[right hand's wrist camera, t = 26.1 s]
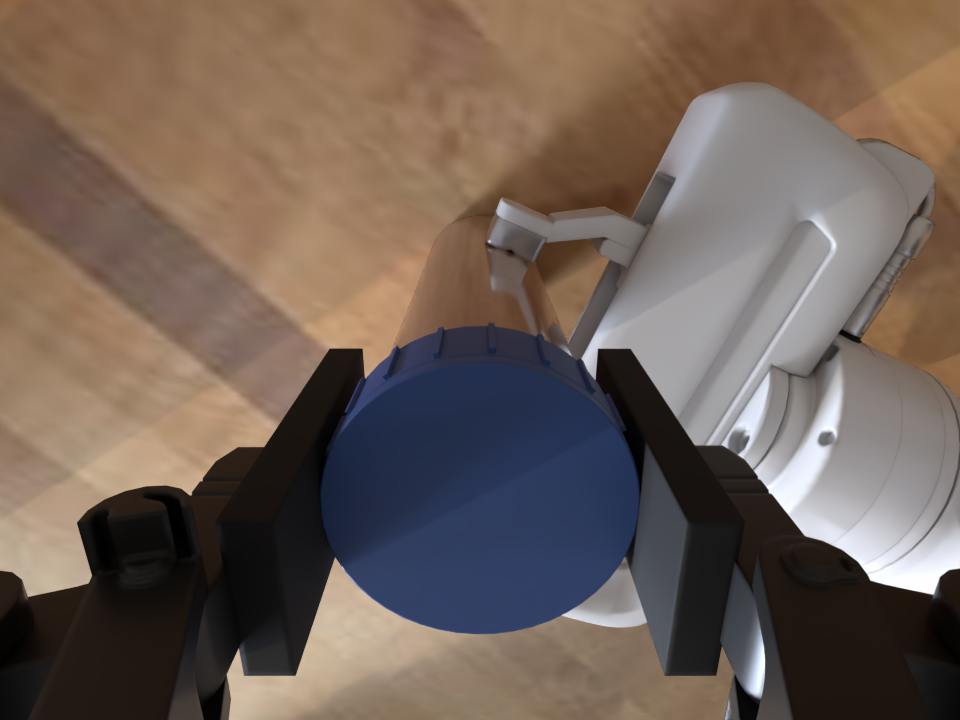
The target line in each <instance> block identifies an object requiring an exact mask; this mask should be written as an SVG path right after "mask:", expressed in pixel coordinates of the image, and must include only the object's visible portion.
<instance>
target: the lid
mask: <svg viewBox="0 0 960 720" xmlns="http://www.w3.org/2000/svg"><path fill="white" fill-rule="evenodd" d="M345 412H346V413H347V414H346V416H342V417H341V419H340V421H339V424H338V426H337V428H336V430H335V432H334V434H333V436H332V438H331V440H330V443H329V445H328V447H327V449H326V452H325V455H326V456H327V459H326V462H325V465H324V469H323V472H322V479H321V485H320V501H321V511H322V519H323V527H324V530H325V533H326V536H327V540H328V542H329V544H330V547H331V549H332V551H333V553H334V555H335V557H336V559H337V560H338V562H339V563H340V565H341V566H342V568H343V569H344V571H345V572H346V573H347V574H348V576H349V577H350V578H351V579H352V580H353V581H354V582H355V584H356V585H357V586H358V587H359V588H360V589H362V590H363V591H364V592H365V593H366V594H367V595H368V596H369V597H371V598H372V599H373V600H375V601H376V602H378V603H379V604H380V605H382V606H383V607H385V608H386V609H388V610H390V611H392V612H394V613H396V614H397V615H399V616H401V617H403V618H406V619H408V620H411V621H413V622H416V623H418V624H421V625H424V626H428V627H431V628H435V629H438V630H444V631H450V632H455V633H467V634H496V633H504V632H512V631H517V630H521V629H525V628H530V627H533V626H536V625H539V624H542V623H545V622H548V621H550V620H553V619H555V618H557V617H559V616H561V615H563V614H565V613H567V612H569V611H570V610H572V609H574V608H575V607H577V606H579V605H580V604H582V603H583V602H584V601H586V600H587V599H588V598H590V597H591V596H592V595H593V594H595V593H596V592H597V591H598V590H599V589H600V588H601V587H602V586H603V585H604V584H605V583H606V582H607V581H608V580H609V579H610V578H611V576H612V575H613V574H614V572H615V571H616V570H617V568H618V567H619V566H620V564H621V563H622V561H623V559H624V557H625V555H626V554H627V552H628V550H629V548H630V545H631V543H632V540H633V538H634V535H635V532H636V528H637V523H638V515H639V505H640V481H639V476H638V472H637V467H636V463H635V460H634V458H633V455H632V453H631V451H630V448H629V446H628V443H627V441H626V439H625V437H624V435H623V432H624V431H626V428H625V426H624V423H623V421H622V419H621V417H620V415H619V413H618V411H617V409H616V407H615V405H614V402H613V400H612V398H611V396H610V394H609V393H607V394H604V393H603V391H602V389H601V388H600V386H599V384H598V383H597V382H596V380H595V379H594V378H593V377H592V376H591V374H590V373H589V372H588V370H587V368H586V366H585V363H584V361H583V360H582V359H581V358H579V359H578V360H576V359H575V358H574V357H572V356H571V355H569V354H568V353H566V352H565V351H563V350H562V349H561V348H559V347H558V346H556V345H554V344H552V343H550V342H548V341H546V340H544V337H543V335H542V334H539V333H538V334H537V336H534V335H531V334H528V333H525V332H522V331H518V330H513V329H509V328H504V327H494V323H488V326H465V327H458V328H452V329H446V330H444V327H440V328H438V330H437V332H436V333H432V334H429V335H426V336H424V337H421V338H419V339H417V340H415V341H412V342H410V343H408V344H407V345H405V346H403V347H402V348H399V347H398V346H396V347H394V348H393V350H392V352H391V355H390V356H389V357H387V358H386V359H385V360H384V361H382V362H381V363H380V364H379V365H378V366H377V367H376V368H375V369H374V370H373V371H372V372H371V374H370V375H369V376H368V377H367V378H366V379H365V378H364V377H362V378H361V379H360V381H359V383H358V385H357V387H356V389H355V391H354V393H353V396H352V398H351V400H350V402H349V404H348V406H347V408H346V411H345Z"/></svg>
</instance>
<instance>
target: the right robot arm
mask: <svg viewBox="0 0 960 720" xmlns="http://www.w3.org/2000/svg"><path fill="white" fill-rule="evenodd" d="M362 377H364V378H365V375H364V362H363V349H329V351H328V352H327V354H326V355H325V357H324V358H323V360H322V361H321V363H320V364H319V366H318V367H317V369H316V370H315V372H314V373H313V375H312V376H311V378H310V379H309V381H308V382H307V384H306V385H305V387H304V388H303V390H302V391H301V393H300V394H299V396H298V397H297V399H296V400H295V402H294V403H293V405H292V406H291V408H290V409H289V411H288V412H287V414H286V415H285V417H284V418H283V420H282V421H281V423H280V424H279V426H278V427H277V429H276V430H275V432H274V433H273V435H272V436H271V438H270V439H269V441H268V442H267V444H266V445H265V447H238V448H236V449H235V450H233V451H231V452H230V453H228V454H227V455H225V456H224V457H222V458H221V459H219V460H218V461H216V462H215V463H214V465H213V466H212V467H211V468H210V470H209V471H208V472H207V474H206V475H205V476H204V477H203V481H200V483H199V484H198V485H197V486H196V488H195V489H194V490H193V492H192V496H190V495H188V494H187V493H186V492H185V491H183V490H182V489H180V488H175V487H170V486H147V487H142V488H138V489H133V490H129V491H125V492H122V493H120V494H117V495H115V496H112V497H110V498H108V499H105V500H103V501H102V502H100V503H99V504H97V505H96V506H94V507H93V508H91V509H89V510H88V511H87V512H86V513H85V514H84V515H83V517H82V518H81V519H80V520H79V521H78V522H77V525H78V528H79V531H80V535H81V538H82V542H83V545H84V549H85V552H86V556H87V559H88V563H89V566H90V570H91V573H92V578H91V580H90V582H89V584H85V585H82V586H78V587H74V588H69V589H64V590H59V591H55V592H50V593H45V594H40V595H36V596H31V597H27V594H26V591H25V588H24V585H23V582H22V579H20V578H19V577H18V576H16V575H15V574H14V573H12V572H5V571H0V720H229V711H230V702H231V697H230V690H229V684H228V679H227V672H228V670H229V668H230V666H231V664H232V661H233V659H234V657H235V655H236V653H237V650H238V648H239V651H240V656H241V661H242V667H243V672H244V676H296V673H297V670H298V667H299V664H300V661H301V658H302V655H303V652H304V649H305V646H306V643H307V640H308V637H309V634H310V631H311V628H312V625H313V622H314V619H315V616H316V613H317V610H318V607H319V604H320V601H321V598H322V595H323V592H324V589H325V586H326V583H327V580H328V577H329V574H330V571H331V568H332V565H333V562H334V559H335V555H334V553H333V551H332V549H331V547H330V544H329V542H328V540H327V536H326V533H325V530H324V527H323V519H322V511H321V501H320V485H321V479H322V472H323V469H324V465H325V462H326V459H327V456H326V455H325V452H326V449H327V447H328V445H329V443H330V440H331V438H332V436H333V434H334V432H335V430H336V428H337V426H338V424H339V421H340V419H341V417H342V416H346V414H347V413H346V412H345V411H346V408H347V406H348V404H349V402H350V400H351V398H352V396H353V393H354V391H355V389H356V387H357V385H358V383H359V381H360V379H361V378H362ZM596 382H597V383H598V384H599V386H600V388H601V389H602V391H603V393H604V394H607V393H609V394H610V396H611V398H612V400H613V402H614V405H615V407H616V409H617V411H618V413H619V415H620V417H621V419H622V421H623V423H624V426H625V428H626V431H624V432H623V435H624V437H625V439H626V441H627V443H628V446H629V448H630V451H631V453H632V455H633V458H634V460H635V463H636V467H637V472H638V476H639V481H640V505H639V515H638V523H637V528H636V532H635V535H634V538H633V540H632V543H631V545H630V548H629V550H628V552H627V554H626V555H625V558H626V561H627V564H628V567H629V570H630V573H631V576H632V579H633V582H634V585H635V588H636V591H637V594H638V597H639V600H640V603H641V606H642V609H643V612H644V615H645V618H646V621H647V624H648V627H649V630H650V633H651V636H652V639H653V642H654V645H655V648H656V651H657V654H658V657H659V660H660V663H661V666H662V669H663V672H664V675H665V676H716V674H717V669H718V663H719V658H720V653H721V648H722V647H723V649H724V651H725V653H726V655H727V657H728V660H729V662H730V664H731V666H732V668H733V670H734V674H733V679H732V684H731V689H730V694H729V699H728V704H727V709H726V714H725V719H724V720H960V568H959V569H951V570H948V571H947V572H946V573H944V574H943V575H942V576H940V578H939V581H938V583H937V586H936V589H935V592H934V595H933V594H928V593H923V592H918V591H914V590H909V589H904V588H899V587H895V586H890V585H885V584H881V583H878V582H874V581H870V579H869V576H868V575H867V573H866V572H865V570H864V569H863V568H862V566H861V565H860V564H859V562H858V561H856V560H855V559H854V558H852V557H851V556H850V555H848V554H847V553H846V552H844V551H843V550H841V549H839V548H837V547H835V546H833V545H831V544H828V543H826V542H824V541H822V540H818V539H814V538H810V537H806V536H805V535H804V534H803V533H802V532H801V530H800V529H799V528H798V527H797V525H796V524H795V523H794V521H793V520H792V519H791V518H790V516H789V515H788V514H787V513H786V511H785V510H784V509H783V507H782V506H781V505H780V504H779V502H778V501H777V500H776V499H775V497H774V496H773V495H772V493H769V490H768V488H767V487H766V486H765V485H764V483H763V482H762V481H761V479H758V476H757V474H756V473H755V472H754V471H753V469H752V468H751V467H750V465H749V464H748V463H747V462H746V460H745V459H743V458H742V457H740V456H739V455H737V454H735V453H734V452H732V451H731V450H729V449H728V448H726V447H724V446H723V445H694V443H693V442H692V440H691V439H690V437H689V436H688V434H687V433H686V431H685V430H684V428H683V427H682V425H681V424H680V422H679V421H678V419H677V418H676V416H675V415H674V413H673V412H672V410H671V409H670V407H669V406H668V404H667V403H666V401H665V400H664V398H663V397H662V395H661V394H660V392H659V391H658V389H657V388H656V386H655V385H654V383H653V382H652V380H651V379H650V377H649V376H648V374H647V373H646V371H645V370H644V368H643V367H642V365H641V364H640V362H639V361H638V359H637V358H636V356H635V355H634V353H633V352H632V350H631V349H598V354H597V367H596Z"/></svg>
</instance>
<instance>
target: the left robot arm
mask: <svg viewBox="0 0 960 720" xmlns="http://www.w3.org/2000/svg"><path fill="white" fill-rule="evenodd" d="M935 199H936V185H935V174H934V172H933V171H932V169H931V168H930V167H929V166H928V165H927V164H926V163H924V162H923V161H922V160H921V159H920V158H918V157H916V156H914V155H912V154H910V153H908V152H906V151H904V150H902V149H900V148H898V147H896V146H894V145H893V144H891V143H889V142H887V141H884V140H880V139H874V138H864V139H858V140H855V139H854V138H853V137H851V136H850V135H849V134H847V133H846V132H845V131H843V130H842V129H841V128H839V127H838V126H837V125H835V124H834V123H833V122H831V121H830V120H828V119H827V118H825V117H824V116H822V115H821V114H819V113H818V112H816V111H815V110H813V109H812V108H811V107H809V106H808V105H806V104H804V103H803V102H801V101H799V100H798V99H796V98H794V97H793V96H791V95H789V94H788V93H786V92H784V91H782V90H780V89H778V88H776V87H774V86H772V85H770V84H767V83H762V82H751V81H747V82H738V83H733V84H729V85H726V86H722V87H720V88H717V89H714V90H711V91H709V92H706V93H703V94H701V95H699V96H698V97H696V98H695V99H694V100H693V101H692V102H691V104H690V105H689V107H688V109H687V111H686V113H685V114H684V116H683V118H682V120H681V122H680V124H679V126H678V128H677V130H676V132H675V134H674V136H673V138H672V140H671V142H670V144H669V146H668V148H667V149H666V151H665V153H664V155H663V157H662V159H661V161H660V163H659V165H658V167H657V169H656V171H655V173H654V175H653V177H652V179H651V181H650V183H649V184H648V186H647V188H646V190H645V192H644V194H643V196H642V198H641V200H640V202H639V204H638V206H637V208H636V210H635V212H634V214H633V216H632V218H629V217H627V216H624V215H622V214H620V213H618V212H616V211H613V210H611V209H609V208H607V207H604V206H602V207H594V208H586V209H578V210H570V211H562V212H554V213H549V215H548V216H546V215H544V214H541V213H539V212H537V211H535V210H532V209H530V208H528V207H526V206H524V205H521V204H519V203H517V202H515V201H512V200H509V199H506V198H503V197H501V200H500V202H499V204H498V207H497V209H496V211H495V214H494V216H493V218H492V221H491V223H490V226H489V228H488V231H487V233H486V236H485V238H486V239H485V241H486V242H487V243H488V244H490V245H492V246H493V247H495V248H498V249H501V250H505V251H506V250H511V249H512V251H513V253H514V254H515V255H516V256H517V257H519V258H521V259H523V260H525V261H528V262H530V263H532V264H534V263H535V261H536V259H537V256H538V254H539V252H540V250H541V248H542V246H543V244H544V242H546V243H550V242H560V241H570V240H579V239H589V243H590V244H591V246H592V247H593V248H594V249H595V250H596V251H597V252H598V253H599V254H600V255H601V256H603V257H605V258H608V259H610V260H609V262H608V264H607V266H606V268H605V270H604V272H603V274H602V276H601V278H600V280H599V282H598V284H597V286H596V288H595V289H594V291H593V293H592V295H591V297H590V299H589V301H588V303H587V305H586V307H585V309H584V311H583V313H582V315H581V317H580V319H579V321H578V323H577V324H576V326H575V328H574V330H573V332H572V334H571V336H570V338H569V340H568V342H567V343H568V346H569V348H570V351H571V353H572V356H573V357H574V358H575V359H576V360H578V359H579V358H581V359H582V360H583V361H584V363H585V366H586V368H587V370H588V372H589V373H590V374H591V376H592V377H593V378H594V379H595V380H596V367H597V354H598V349H631V350H632V352H633V353H634V355H635V356H636V358H637V359H638V361H639V362H640V364H641V365H642V367H643V368H644V370H645V371H646V373H647V374H648V376H649V377H650V379H651V380H652V382H653V383H654V385H655V386H656V388H657V389H658V391H659V392H660V394H661V395H662V397H663V398H664V400H665V401H666V403H667V404H668V406H669V407H670V409H671V410H672V412H673V413H674V415H675V416H676V418H677V419H678V421H679V422H680V424H681V425H682V427H683V428H684V430H685V431H686V433H687V434H688V436H689V437H690V439H691V440H692V442H693V443H694V445H723V446H724V447H726V448H728V449H729V450H731V451H732V452H734V453H735V454H737V455H739V456H740V457H742V458H743V459H745V460H746V462H747V463H748V464H749V465H750V467H751V468H752V469H753V471H754V472H755V473H756V474H757V476H758V479H761V481H762V482H763V483H764V485H765V486H766V487H767V488H768V490H769V493H772V495H773V496H774V497H775V499H776V500H777V501H778V502H779V504H780V505H781V506H782V507H783V509H784V510H785V511H786V513H787V514H788V515H789V516H790V518H791V519H792V520H793V521H794V523H795V524H796V525H797V527H798V528H799V529H800V530H801V532H802V533H803V534H804V535H805V536H806V537H810V538H814V539H818V540H822V541H824V542H826V543H828V544H831V545H833V546H835V547H837V548H839V549H841V550H843V551H844V552H846V553H847V554H848V555H850V556H851V557H852V558H854V559H855V560H856V561H858V562H859V564H860V565H861V566H862V568H863V569H864V570H865V572H866V573H867V575H868V576H869V579H870V581H874V582H878V583H881V584H885V585H890V586H895V587H899V588H904V589H909V590H914V591H918V592H923V593H928V594H933V595H934V592H935V589H936V586H937V583H938V581H939V578H940V576H942V575H943V574H944V573H946V572H947V571H948V570H951V569H959V568H960V398H959V397H958V396H957V395H956V394H955V393H954V392H953V391H952V390H951V389H950V388H949V387H948V386H947V385H945V384H944V383H943V382H941V381H940V380H939V379H937V378H936V377H935V376H933V375H931V374H930V373H928V372H926V371H924V370H922V369H920V368H918V367H916V366H913V365H911V364H909V363H907V362H904V361H902V360H900V359H898V358H895V357H893V356H891V355H889V354H887V353H884V352H882V351H880V350H878V349H876V348H873V347H871V346H869V345H867V344H865V343H863V342H862V341H861V340H860V339H861V338H862V336H863V335H864V333H865V332H866V331H867V329H868V328H869V326H870V325H871V324H872V322H873V321H874V319H875V318H876V316H877V315H878V313H879V312H880V311H881V309H882V308H883V306H884V305H885V303H886V301H887V300H888V298H889V297H890V293H892V291H893V289H894V287H893V286H894V285H896V283H897V282H898V278H900V277H901V275H902V274H903V272H902V271H905V269H906V268H907V267H908V265H909V264H910V262H911V261H912V260H915V259H916V258H917V257H918V256H919V254H920V253H921V252H922V251H923V249H924V248H925V246H926V245H927V243H928V241H929V240H930V237H931V235H932V233H933V231H934V229H935V226H936V224H935V223H934V222H933V221H931V220H929V218H930V216H931V213H932V211H933V208H934V205H935ZM918 207H919V208H918ZM917 208H918V211H917V214H914V213H915V211H916V210H917ZM562 616H565V617H569V618H572V619H576V620H580V621H584V622H588V623H592V624H597V625H602V626H608V627H634V626H639V625H642V624H645V623H647V621H646V618H645V615H644V612H643V609H642V606H641V603H640V600H639V597H638V594H637V591H636V588H635V585H634V582H633V579H632V576H631V573H630V570H629V567H628V564H627V561H626V558H625V557H624V559H623V561H622V563H621V564H620V566H619V567H618V568H617V570H616V571H615V572H614V574H613V575H612V576H611V578H610V579H609V580H608V581H607V582H606V583H605V584H604V585H603V586H602V587H601V588H600V589H599V590H598V591H597V592H596V593H595V594H593V595H592V596H591V597H590V598H588V599H587V600H586V601H584V602H583V603H582V604H580V605H579V606H577V607H575V608H574V609H572V610H570V611H569V612H567V613H565V614H563V615H562Z"/></svg>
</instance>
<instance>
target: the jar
mask: <svg viewBox="0 0 960 720" xmlns="http://www.w3.org/2000/svg"><path fill="white" fill-rule="evenodd" d="M492 218H493V217H492V216H482V215H477V216H470V217H466V218H463V219H460V220H458V221H456V222H454V223H452V224H451V225H449V226H448V227H447V228H446V229H444V230H443V232H442V233H441V234H440V235H439V236H438V237H437V239H436V240H435V242H434V244H433V246H432V248H431V251H430V253H429V256H428V258H427V261H426V263H425V266H424V269H423V271H422V274H421V276H420V279H419V281H418V284H417V286H416V289H415V292H414V294H413V297H412V299H411V302H410V304H409V307H408V309H407V312H406V314H405V317H404V320H403V322H402V325H401V327H400V330H399V332H398V335H397V337H396V340H395V343H394V345H393V348H394V347H396V346H398V347H399V348H402V347H403V346H405V345H407V344H408V343H410V342H412V341H415V340H417V339H419V338H421V337H424V336H426V335H429V334H432V333H436V332H437V330H438V328H440V327H444V330H446V329H452V328H458V327H465V326H488V323H494V327H504V328H509V329H513V330H518V331H522V332H525V333H528V334H531V335H534V336H537V334H538V333H539V334H542V335H543V337H544V340H546V341H548V342H550V343H552V344H554V345H556V346H558V347H559V348H561V349H562V350H563V351H565V352H566V353H568V354H569V355H571V356H572V353H571V351H570V348H569V346H568V343H567V341H566V338H565V335H564V333H563V330H562V328H561V325H560V323H559V320H558V318H557V315H556V313H555V310H554V308H553V305H552V303H551V300H550V298H549V295H548V293H547V290H546V287H545V285H544V282H543V280H542V277H541V275H540V272H539V270H538V267H537V265H536V262H535V263H534V264H532V263H530V262H528V261H525V260H523V259H521V258H519V257H517V256H516V255H515V254H514V253H513V251H512V249H511V250H506V251H505V250H501V249H498V248H495V247H493V246H492V245H490V244H488V243H487V242H486V241H485V239H486V238H485V236H486V233H487V231H488V228H489V226H490V223H491V221H492ZM393 348H392V350H393ZM392 350H391V352H392ZM390 355H391V353H390ZM390 355H389V356H390ZM572 357H573V356H572Z"/></svg>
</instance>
